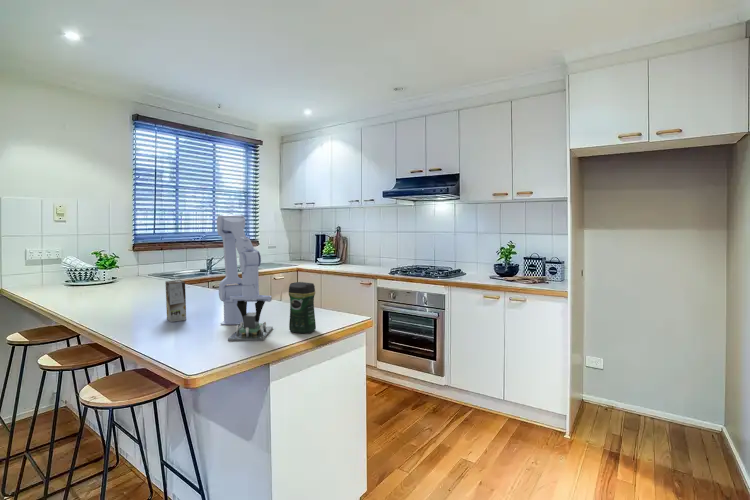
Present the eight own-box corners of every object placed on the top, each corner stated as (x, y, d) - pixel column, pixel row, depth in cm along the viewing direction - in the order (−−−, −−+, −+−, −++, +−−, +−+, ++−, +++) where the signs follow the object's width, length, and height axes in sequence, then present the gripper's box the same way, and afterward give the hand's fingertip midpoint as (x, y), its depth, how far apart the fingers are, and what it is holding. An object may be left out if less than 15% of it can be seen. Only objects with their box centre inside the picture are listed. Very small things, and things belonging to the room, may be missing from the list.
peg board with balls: (241, 328, 156) (241, 318, 155) (272, 328, 156) (272, 318, 156) (228, 341, 140) (227, 329, 139) (263, 340, 140) (262, 329, 140)
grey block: (246, 326, 152) (246, 311, 152) (262, 325, 152) (262, 311, 152) (239, 332, 143) (239, 317, 143) (256, 332, 143) (256, 317, 143)
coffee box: (187, 320, 169) (185, 282, 168) (170, 322, 166) (168, 283, 165) (182, 316, 177) (181, 279, 176) (166, 318, 173) (164, 281, 172)
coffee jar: (319, 330, 154) (318, 281, 153) (306, 335, 147) (306, 284, 146) (298, 327, 158) (298, 280, 157) (285, 332, 151) (284, 282, 150)
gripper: (226, 286, 142) (227, 324, 143) (268, 285, 143) (268, 323, 144) (232, 283, 149) (233, 319, 150) (272, 282, 150) (273, 318, 151)
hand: (251, 321), depth 148 cm, fingers closed on grey block, 4 cm apart
